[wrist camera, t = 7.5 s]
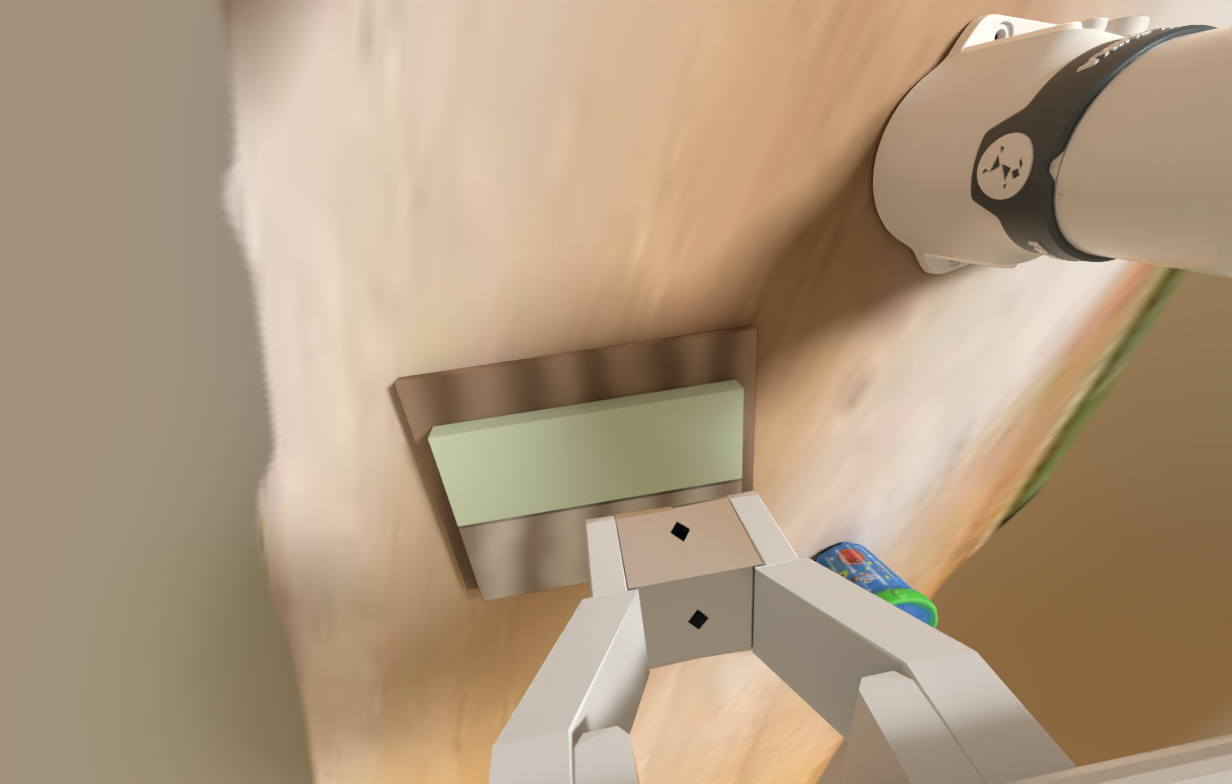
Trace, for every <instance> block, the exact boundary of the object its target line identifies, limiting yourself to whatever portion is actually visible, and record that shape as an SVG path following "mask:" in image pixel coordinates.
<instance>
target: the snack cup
mask: <svg viewBox="0 0 1232 784" xmlns="http://www.w3.org/2000/svg"><path fill="white" fill-rule="evenodd" d="M816 562H817V563H819V564H820V565H822V566H824V567H826V568H828V569H829V570H831V571H833V572H835V573H836V574H838V575H840V576H842V577H844V578H845V579H847V580H849V581H851V582H853V583H854V584H856V585H858V586H860V587H861V588H863V589H865V590H867V591H869V592H870V593H872V594H874V595H876V596H878V597H879V598H881V599H883V600H885V601H886V602H888V603H890V604H892V605H894V606H895V607H897V608H899V609H901V610H903V611H904V612H906V613H908V614H910V615H911V616H913V617H915V618H917V619H919V620H920V621H922V622H924V623H926V624H928V625H929V626H931V627H933V628H936V625H937V622H938V615H937V610H936V607H935V605H934V604H933V603H932V602H931V601H930V600H928V599H927V598H926V597H925V596H924V595H922V594H921V593H920V592H918V591H916V590H914V589H912V588H911V587H910V586H909V585H908V584H906V583H905V582H904V581H903V580H902V579H901V578H900V577H899V576H898V575H897V574H895V573H894V572H893V571H892V570H891V569H890V568H888V567H887V566H886V565H885V564H884V563H883V562H882V561H880V560H879V559H878V558H877V557H876V556H875V555H873V554H872V553H871V552H870V551H869V550H867V549H866V548H864V547H863V546H861V545H858V544H852V543H849V542H842V544H840V545H836V546H834V547H832V548H830V549H829V550H827V551H825V552H824V553H823V554H822V555H819V556H818V557H817V559H816Z"/></svg>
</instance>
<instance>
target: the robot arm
mask: <svg viewBox="0 0 1232 784" xmlns="http://www.w3.org/2000/svg"><path fill="white" fill-rule="evenodd" d="M1149 19H1150V18H1149V17H1144V16H1134V17H1124V18H1118V19H1114V20H1110V21H1108V18H1092V19H1087V20H1084V21H1082V22H1071V23H1065V24H1061V25H1056V24H1051V23H1045V22H1039V21H1033V20H1027V19H1021V18H1015V17H1009V16H1004V15H998V14H990V15H985V16H980V17H978V18H976V19H974V20H973V21H972V22H971V23H970V24H969V25H968V26H967V27H966V29H965V30H964V31H963V33H962V34H961V35H960V37H959V38H958V40H957V42H956V43H955V45H954V46H953V48H952V49H951V51H950V53H949V54H948V56H947V57H946V58H945V59H944V60H943V61H942V62H941V63H940V64H939V65H938V66H937V67H936V68H935V69H934V70H932V71H931V72H930V73H929V74H928V75H926V76H925V77H924V78H923V79H922V80H921V81H920V82H919V83H917V84H916V85H915V87H914V88H913V89H912V90H911V91H910V92H909V93H908V94H907V96H906V97H905V98H904V99H903V101H902V102H901V103H900V105H899V106H898V108H897V109H896V111H895V112H894V114H893V116H892V117H891V119H890V121H889V123H888V125H887V127H886V129H885V131H884V134H883V136H882V139H881V141H880V144H879V147H878V151H877V155H876V159H875V165H874V172H873V193H874V200H875V205H876V208H877V211H878V214H879V216H880V219H881V221H882V222H883V224H884V226H885V227H886V228H887V230H888V231H889V232H890V233H891V234H892V235H893V236H894V237H895V238H897V239H898V240H899V241H901V242H902V243H904V244H905V245H907V246H908V247H910V248H911V249H912V250H913V251H914V254H915V256H916V258H917V260H918V262H919V264H920V266H921V268H922V269H923V270H924V271H925V272H927V273H931V274H943V273H946V272H949V271H952V270H955V269H958V268H960V267H963V266H966V265H969V264H978V265H984V266H991V267H997V268H1014V267H1015V266H1016V265H1017V264H1018V263H1023V262H1027V261H1030V260H1033V259H1035V258H1037V257H1040V256H1042V255H1046V256H1048V257H1051V258H1056V259H1061V260H1068V261H1089V262H1104V261H1110V260H1114V259H1121V260H1127V261H1133V262H1140V263H1146V264H1152V265H1158V266H1164V267H1170V268H1176V269H1182V270H1188V271H1195V272H1201V273H1207V274H1214V275H1219V276H1226V277H1232V25H1230V26H1226V27H1221V28H1216V27H1212V26H1207V25H1189V26H1182V27H1174V28H1173V27H1169V28H1159V29H1154V30H1149V31H1146V29H1147V27H1148V25H1149V22H1150V21H1149ZM996 33H997V40H995V34H996ZM615 519H616V521H615ZM585 533H586V545H587V556H588V568H589V580H590V591H591V597H590V598H585V599H582V600H581V601H580V603H579V605H578V606H577V608H576V610H575V611H574V613H573V615H572V616H571V618H570V620H569V621H568V623H567V625H566V626H565V628H564V630H563V631H562V633H561V634H560V636H559V638H558V639H557V641H556V643H555V644H554V646H553V648H552V649H551V651H550V653H549V654H548V656H547V658H546V659H545V661H544V663H543V664H542V666H541V668H540V669H539V671H538V673H537V674H536V676H535V677H534V679H533V681H532V682H531V684H530V686H529V687H528V689H527V691H526V692H525V694H524V696H523V697H522V699H521V701H520V702H519V704H518V706H517V707H516V709H515V711H514V712H513V714H512V716H511V717H510V719H509V720H508V722H507V724H506V725H505V727H504V729H503V730H502V732H501V734H500V735H499V737H498V739H497V740H496V742H495V744H494V745H493V747H492V756H491V765H490V774H489V783H488V784H639V778H638V773H637V767H636V762H635V756H634V751H633V745H632V739H631V735H630V731H631V728H632V725H633V722H634V719H635V716H636V713H637V710H638V707H639V704H640V701H641V698H642V695H643V692H644V689H645V686H646V683H647V680H648V677H649V674H650V671H649V669H653V668H658V667H662V666H666V665H671V664H675V663H680V662H684V661H689V660H693V659H698V658H700V657H701V658H703V657H709V656H715V655H721V654H727V653H734V652H740V651H746V650H752V649H753V653H754V654H755V655H756V656H757V657H759V658H760V659H761V660H762V661H763V662H764V663H765V664H766V665H767V666H768V667H769V668H770V669H771V670H772V671H773V672H775V673H776V674H777V675H778V676H779V677H780V678H781V679H782V680H783V681H784V682H785V683H786V684H787V685H788V686H789V687H791V688H792V689H793V690H794V691H795V692H796V693H797V694H798V695H799V696H800V697H801V698H802V699H803V700H804V701H805V702H807V703H808V704H809V705H810V706H811V707H812V708H813V709H814V710H815V711H816V712H817V713H818V714H819V715H820V716H821V717H823V718H824V719H825V720H826V721H827V722H828V723H829V724H830V725H831V726H832V727H833V728H834V729H835V730H836V731H837V732H839V733H840V734H841V735H842V736H843V737H844V738H845V739H846V740H847V741H848V747H847V752H846V757H845V762H844V767H843V772H842V777H841V782H840V784H1232V734H1229V735H1224V736H1220V737H1215V738H1211V739H1206V740H1201V741H1196V742H1192V743H1188V744H1183V745H1178V746H1174V747H1169V748H1164V749H1159V750H1155V751H1151V752H1145V753H1141V754H1136V755H1132V756H1127V757H1123V758H1118V759H1113V760H1109V761H1104V762H1099V763H1094V764H1090V765H1085V766H1081V767H1076V766H1075V765H1074V764H1073V762H1072V761H1071V760H1070V759H1069V758H1068V757H1067V756H1066V754H1065V753H1064V752H1063V751H1062V750H1061V749H1060V747H1059V746H1058V745H1057V744H1056V743H1055V742H1054V741H1053V739H1052V738H1051V737H1050V736H1049V735H1048V734H1047V733H1046V731H1045V730H1044V729H1043V728H1042V727H1041V726H1040V724H1039V723H1038V722H1037V721H1036V720H1035V719H1034V717H1033V716H1032V715H1031V714H1030V713H1029V712H1028V711H1027V710H1026V708H1025V707H1024V706H1023V705H1022V704H1021V703H1020V701H1019V700H1018V699H1017V698H1016V697H1015V696H1014V694H1013V693H1012V692H1011V691H1010V690H1009V689H1008V688H1007V686H1006V685H1005V684H1004V683H1003V682H1002V681H1001V679H1000V678H999V677H998V676H997V675H996V674H995V673H994V671H993V670H992V669H991V668H990V667H989V666H988V664H987V663H986V662H985V661H984V660H983V659H982V658H981V657H980V655H979V654H978V653H977V652H976V651H974V650H972V649H970V648H969V647H967V646H965V645H963V644H962V643H960V642H958V641H956V640H954V639H952V638H951V637H949V636H947V635H945V634H944V633H942V632H940V631H938V630H936V629H935V628H933V627H931V626H929V625H928V624H926V623H924V622H922V621H920V620H919V619H917V618H915V617H913V616H911V615H910V614H908V613H906V612H904V611H903V610H901V609H899V608H897V607H895V606H894V605H892V604H890V603H888V602H886V601H885V600H883V599H881V598H879V597H878V596H876V595H874V594H872V593H870V592H869V591H867V590H865V589H863V588H861V587H860V586H858V585H856V584H854V583H853V582H851V581H849V580H847V579H845V578H844V577H842V576H840V575H838V574H836V573H835V572H833V571H831V570H829V569H828V568H826V567H824V566H822V565H820V564H819V563H817V562H815V561H813V560H811V559H810V558H803V559H799V558H798V557H797V555H796V553H795V552H794V550H793V549H792V547H791V546H790V544H789V542H788V541H787V539H786V538H785V536H784V534H783V533H782V531H781V530H780V528H779V527H778V525H777V523H776V522H775V520H774V519H773V517H772V515H771V514H770V512H769V511H768V509H767V508H766V506H765V504H764V503H763V501H762V500H761V498H760V496H759V495H758V493H756V492H754V491H748V492H743V493H738V494H732V495H727V496H725V497H719V498H714V499H708V500H703V501H697V502H692V503H686V504H681V505H675V506H670V507H663V508H657V509H650V510H643V511H637V512H630V513H624V514H617V515H615V517H614V516H607V517H601V518H594V519H587V520H586V522H585Z"/></svg>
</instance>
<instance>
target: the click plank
mask: <svg viewBox="0 0 1232 784" xmlns="http://www.w3.org/2000/svg"><path fill="white" fill-rule="evenodd" d="M743 404H744V388H743V387H742V386H741V385H740V384H739V383H738V381H737V380H730V381H723V382H717V383H710V384H704V385H697V386H691V387H685V388H678V389H672V390H665V391H659V392H652V393H646V394H640V395H633V396H627V397H620V398H614V399H607V400H601V401H595V402H588V403H582V404H575V405H569V406H562V407H556V408H550V409H543V410H537V411H530V412H524V413H517V414H511V415H505V416H498V417H492V418H485V419H479V420H473V421H466V422H460V423H453V424H447V425H440V426H434V427H433V428H432V430H431V432H430V435H429V437H428V440H429V443H430V446H431V449H432V452H433V455H434V458H435V461H436V464H437V467H438V469H439V472H440V475H441V478H442V481H443V484H444V487H445V490H446V493H447V496H448V499H449V502H450V505H451V507H452V510H453V513H454V516H455V519H456V522H457V525H458V527H459V526H465V525H470V524H476V523H482V522H488V521H494V520H500V519H506V518H511V517H517V516H523V515H529V514H535V513H541V512H547V511H552V510H558V509H564V508H570V507H576V506H582V505H588V504H593V503H599V502H605V501H611V500H617V499H623V498H629V497H635V496H640V495H646V494H652V493H658V492H664V491H670V490H676V489H681V488H687V487H693V486H699V485H705V484H711V483H717V482H722V481H728V480H734V479H740V478H742V455H743Z"/></svg>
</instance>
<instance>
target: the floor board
mask: <svg viewBox="0 0 1232 784" xmlns="http://www.w3.org/2000/svg"><path fill="white" fill-rule="evenodd" d="M756 357H757V329H756V328H755V327H753V326H745V327H739V328H732V329H725V330H718V331H712V332H705V333H698V334H691V335H685V336H678V337H671V338H664V339H658V340H651V341H644V342H637V343H631V344H624V345H617V346H610V347H603V348H597V349H590V350H583V351H576V352H570V353H563V354H556V355H549V356H543V357H536V358H529V359H522V360H516V361H509V362H502V363H495V364H489V365H482V366H475V367H468V368H461V369H455V370H448V371H441V372H434V373H428V374H421V375H414V376H407V377H401V378H398V379H397V381H396V382H395V383H394V384H395V387H396V390H397V392H398V395H399V398H400V401H401V404H402V407H403V409H404V412H405V415H406V418H407V421H408V423H409V426H410V429H411V432H412V435H413V438H414V440H415V443H416V446H417V449H418V452H419V454H420V457H421V460H422V463H423V466H424V469H425V471H426V474H427V477H428V480H429V483H430V485H431V488H432V491H433V494H434V497H435V500H436V502H437V505H438V508H439V511H440V514H441V516H442V519H443V522H444V525H445V528H446V531H447V533H448V536H449V539H450V542H451V545H452V547H453V550H454V553H455V556H456V559H457V562H458V564H459V567H460V570H461V573H462V576H463V578H464V581H465V584H466V587H467V589H473V588H478V587H479V589H480V592H481V595H482V598H483V601H488V600H494V599H499V598H505V597H510V596H516V595H521V594H527V593H532V592H538V591H543V590H549V589H554V588H560V587H565V586H571V585H576V584H582V583H587V582H590V580H589V568H588V556H587V545H586V533H585V522H586V520H587V519H594V518H601V517H607V516H614V517H615V515H617V514H624V513H630V512H637V511H643V510H650V509H657V508H663V507H670V506H675V505H681V504H686V503H692V502H697V501H703V500H708V499H714V498H719V497H725V496H727V495H732V494H738V493H743V492H748V491H753V460H754V426H755V392H756ZM730 380H737V381H738V383H739V384H740V385H741V386H742V387H743V388H744V404H743V455H742V478H740V479H734V480H728V481H722V482H717V483H711V484H705V485H699V486H693V487H687V488H681V489H676V490H670V491H664V492H658V493H652V494H646V495H640V496H635V497H629V498H623V499H617V500H611V501H605V502H599V503H593V504H588V505H582V506H576V507H570V508H564V509H558V510H552V511H547V512H541V513H535V514H529V515H523V516H517V517H511V518H506V519H500V520H494V521H488V522H482V523H476V524H470V525H465V526H459V527H458V525H457V522H456V519H455V516H454V513H453V510H452V507H451V505H450V502H449V499H448V496H447V493H446V490H445V487H444V484H443V481H442V478H441V475H440V472H439V469H438V467H437V464H436V461H435V458H434V455H433V452H432V449H431V446H430V443H429V440H428V437H429V435H430V432H431V430H432V428H433V427H434V426H440V425H447V424H453V423H460V422H466V421H473V420H479V419H485V418H492V417H498V416H505V415H511V414H517V413H524V412H530V411H537V410H543V409H550V408H556V407H562V406H569V405H575V404H582V403H588V402H595V401H601V400H607V399H614V398H620V397H627V396H633V395H640V394H646V393H652V392H659V391H665V390H672V389H678V388H685V387H691V386H697V385H704V384H710V383H717V382H723V381H730ZM615 521H616V519H615Z"/></svg>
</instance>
